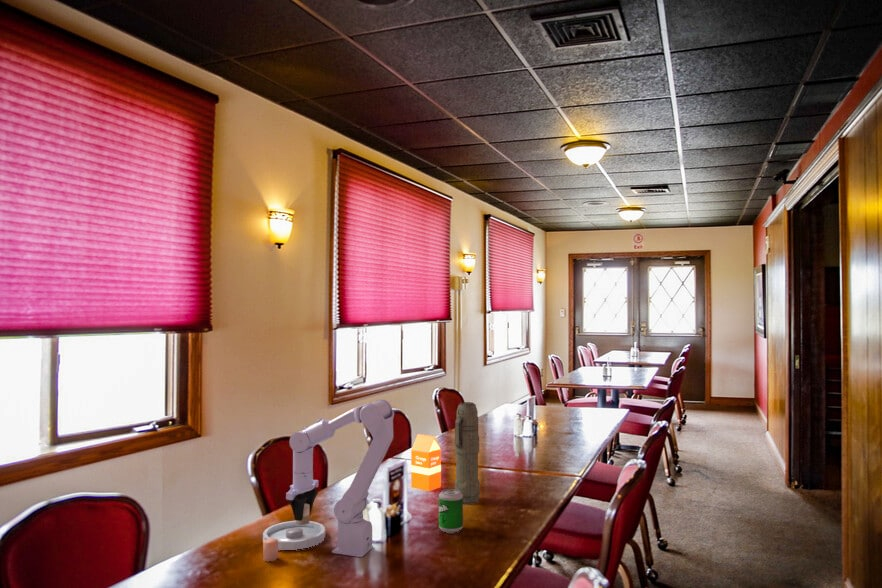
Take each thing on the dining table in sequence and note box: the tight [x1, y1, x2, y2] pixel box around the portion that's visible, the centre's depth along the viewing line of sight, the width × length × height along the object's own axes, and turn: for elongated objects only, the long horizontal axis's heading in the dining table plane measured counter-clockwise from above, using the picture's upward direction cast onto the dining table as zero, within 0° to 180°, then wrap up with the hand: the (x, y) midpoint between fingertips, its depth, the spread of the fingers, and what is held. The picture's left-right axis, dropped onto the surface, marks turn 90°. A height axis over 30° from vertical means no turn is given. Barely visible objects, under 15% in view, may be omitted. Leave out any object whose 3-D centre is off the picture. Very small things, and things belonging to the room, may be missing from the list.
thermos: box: [454, 401, 481, 505], centre depth 228 cm, size 9×12×35 cm
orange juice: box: [410, 433, 442, 492], centre depth 245 cm, size 8×9×20 cm
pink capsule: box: [262, 538, 279, 563], centre depth 176 cm, size 4×4×5 cm
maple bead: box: [295, 503, 311, 525], centre depth 187 cm, size 4×4×5 cm
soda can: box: [438, 488, 464, 534], centre depth 198 cm, size 8×8×12 cm
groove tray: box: [262, 520, 326, 551], centre depth 190 cm, size 18×18×2 cm
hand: (302, 517), depth 187 cm, fingers closed on maple bead, 4 cm apart
